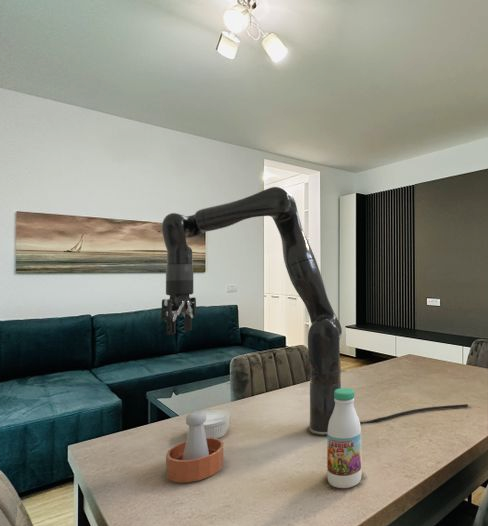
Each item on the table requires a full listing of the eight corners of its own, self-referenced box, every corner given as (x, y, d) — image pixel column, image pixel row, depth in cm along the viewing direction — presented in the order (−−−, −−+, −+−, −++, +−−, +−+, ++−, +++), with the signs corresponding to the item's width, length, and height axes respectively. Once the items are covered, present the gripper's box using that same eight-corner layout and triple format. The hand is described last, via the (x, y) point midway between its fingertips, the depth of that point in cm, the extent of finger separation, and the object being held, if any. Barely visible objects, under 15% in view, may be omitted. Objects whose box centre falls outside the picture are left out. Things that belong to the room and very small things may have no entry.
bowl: (231, 457, 95) (231, 437, 95) (208, 484, 82) (208, 461, 83) (184, 456, 95) (184, 437, 95) (154, 483, 83) (154, 460, 83)
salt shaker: (198, 475, 85) (198, 418, 86) (176, 473, 87) (176, 416, 87) (214, 463, 91) (214, 409, 92) (193, 460, 92) (193, 407, 93)
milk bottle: (328, 471, 88) (327, 385, 88) (360, 469, 88) (360, 384, 89) (326, 490, 80) (326, 396, 81) (362, 488, 81) (362, 395, 81)
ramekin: (203, 447, 100) (203, 427, 101) (179, 437, 106) (179, 419, 106) (238, 432, 110) (238, 414, 110) (214, 424, 116) (214, 407, 116)
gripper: (177, 278, 107) (177, 335, 106) (203, 279, 121) (203, 329, 121) (152, 279, 108) (152, 336, 107) (181, 279, 122) (181, 329, 121)
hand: (179, 332), depth 114 cm, fingers open, 8 cm apart
